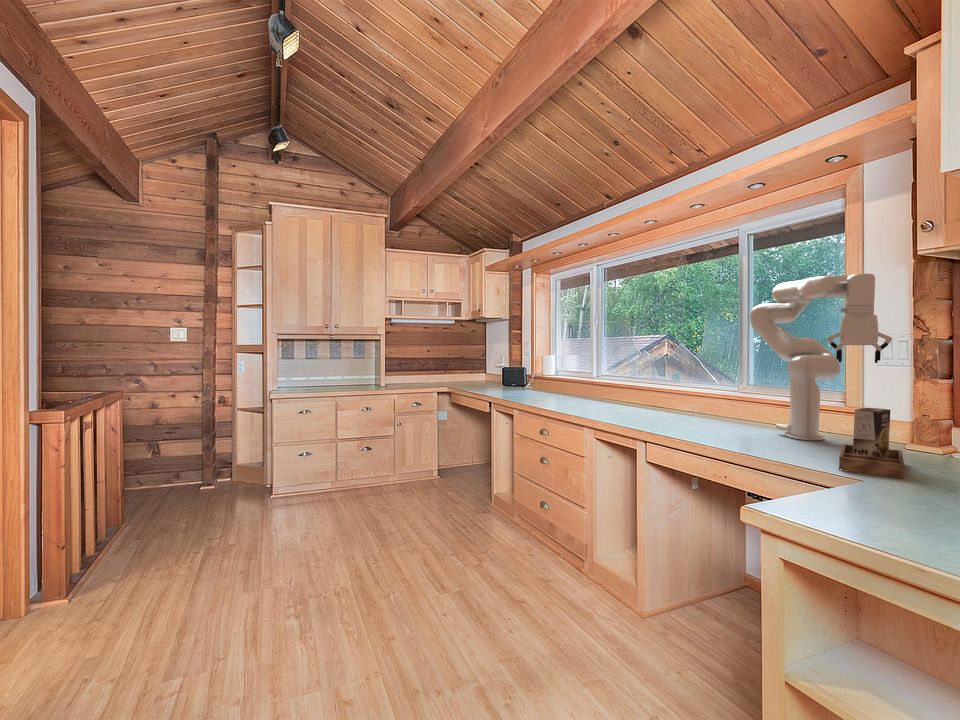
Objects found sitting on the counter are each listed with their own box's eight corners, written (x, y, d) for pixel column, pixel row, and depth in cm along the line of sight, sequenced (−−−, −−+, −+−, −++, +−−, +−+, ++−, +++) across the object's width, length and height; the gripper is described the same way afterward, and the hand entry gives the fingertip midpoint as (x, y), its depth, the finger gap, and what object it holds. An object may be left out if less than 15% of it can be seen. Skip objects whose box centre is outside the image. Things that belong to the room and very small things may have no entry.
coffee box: (876, 466, 146) (879, 412, 145) (851, 461, 152) (853, 409, 151) (889, 461, 151) (891, 409, 150) (864, 456, 156) (866, 406, 155)
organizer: (838, 470, 146) (839, 456, 146) (842, 456, 162) (843, 444, 161) (903, 479, 137) (904, 464, 137) (901, 463, 152) (901, 450, 152)
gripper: (827, 311, 167) (825, 362, 168) (893, 310, 156) (891, 364, 157) (828, 312, 173) (827, 360, 174) (893, 310, 162) (891, 362, 163)
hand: (857, 362), depth 166 cm, fingers open, 9 cm apart
